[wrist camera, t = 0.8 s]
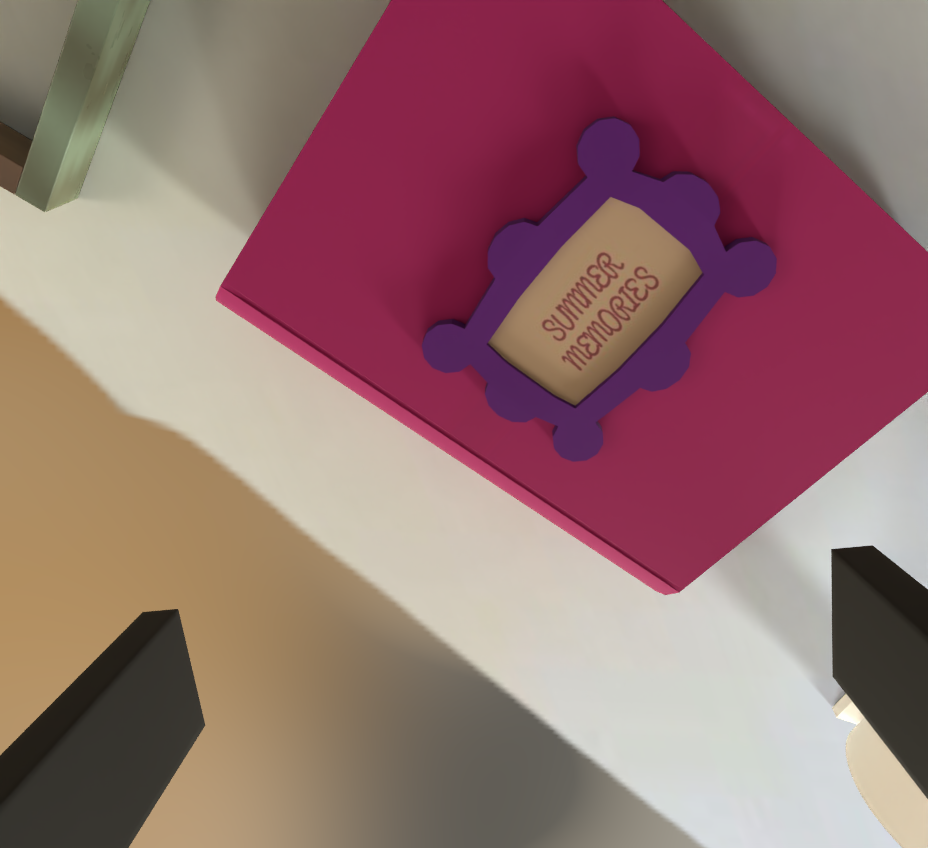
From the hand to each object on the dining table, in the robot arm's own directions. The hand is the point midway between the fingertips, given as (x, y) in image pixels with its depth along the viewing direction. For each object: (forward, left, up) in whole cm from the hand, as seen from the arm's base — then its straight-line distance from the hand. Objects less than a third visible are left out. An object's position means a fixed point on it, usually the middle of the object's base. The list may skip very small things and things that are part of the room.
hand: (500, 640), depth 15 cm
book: (-2, +4, -27) cm, 27 cm away
